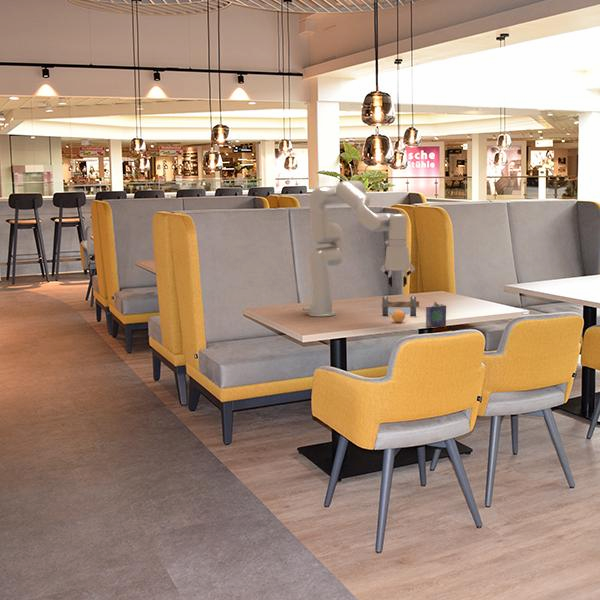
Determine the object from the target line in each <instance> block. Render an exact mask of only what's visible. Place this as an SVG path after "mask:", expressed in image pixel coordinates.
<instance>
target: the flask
mask: <svg viewBox="0 0 600 600" xmlns="http://www.w3.org/2000/svg"><path fill="white" fill-rule="evenodd" d="M446 324H447V305H446V304H442V303H438V302H437V301H436V300H435V301H433V305H428V306H427V305H426V307H425V327H426V328H438V327H440V328H442V327H446Z"/></svg>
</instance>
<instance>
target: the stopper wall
mask: <svg viewBox="0 0 600 600" xmlns="http://www.w3.org/2000/svg"><path fill="white" fill-rule="evenodd" d="M388 308H410V300H407V301H406V300H404V301H402V300H400V301H397V300H396V301H393V300H392V301H391V300H388ZM416 308H420V301H417V300H416Z"/></svg>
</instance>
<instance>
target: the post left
mask: <svg viewBox="0 0 600 600" xmlns="http://www.w3.org/2000/svg"><path fill="white" fill-rule="evenodd" d="M381 297H382V301H381V307H382V310H381V311H382V315H381V316H382V317H383V316H387V317H389V314H388V308H389V307H388V301H389V296H386V295H385V296H381Z"/></svg>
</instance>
